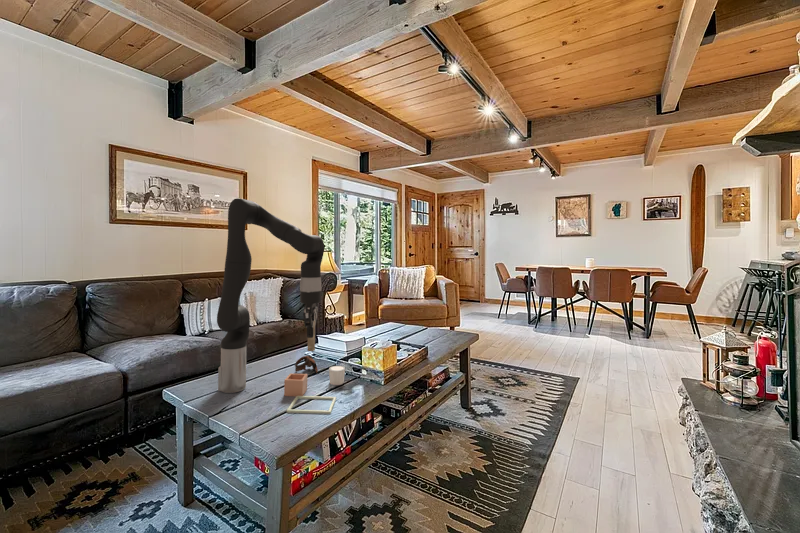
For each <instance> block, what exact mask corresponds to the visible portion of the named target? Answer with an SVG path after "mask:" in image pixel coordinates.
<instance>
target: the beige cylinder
mask: <svg viewBox="0 0 800 533" xmlns="http://www.w3.org/2000/svg"><path fill="white" fill-rule="evenodd" d="M345 372H346V367H345V366H343V365H332V366H330V367H329V368H328V375H329V376H328V378H329V384H330V385H332V386H341V385H343V384H344V382H345V374H346V373H345Z"/></svg>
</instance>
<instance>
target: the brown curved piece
mask: <svg viewBox="0 0 800 533" xmlns="http://www.w3.org/2000/svg"><path fill="white" fill-rule="evenodd" d="M302 362H303V363H302ZM300 363H301V364H300ZM294 367H295V370H294V371H295V372H296V373H297V372H300V371H306V370H307V368H311V367H312V370H314V371H315V373H316V374H317V373H318V366H317V363H316V360H315V359H313V357H312V356H311V355H304V356H302V357H299V359H297V360H296V361H295V364H294ZM306 367H307V368H306Z"/></svg>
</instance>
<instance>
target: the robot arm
mask: <svg viewBox="0 0 800 533" xmlns="http://www.w3.org/2000/svg"><path fill="white" fill-rule="evenodd" d="M246 225H255V226H258V227H261V228H264V229H265V230H267V231H268V232H269V233H270V234H272V236H274V238H276V239H279V240H280V241H282V242H284V243H286V244H288V245H289V246H290V247H292V248H293V249H294V250H296V251H297V252H298V253H300V254H303V255H306V258H305V260H304V261H302V262H301V264H300V284H299V285H300V286H299V288H300V290H299V292H300V294H299V295H300V296H299V297H300V299H299V300H300V303H301V304H305V307H304V311H303V314H302V315H303V322H304V327H305V328H306V337H307V339H308V338H312V337H313V327H314V321H315V326H316V325H317V322H318V314H319V313H318V312H319V307H318V306H317V304H320V303H321V302H322V278H321V275H322V274H321V273H322V272H321V271H322V270H321V269H322V268H321V266H322V262H323V257H324V253H325V243H324V240H323V238H322V237H321V236H319V235H316V234H307V233H305V232H303V231H302V229H300V228H299V227H298V226H296V225H294V224H293V223H290V222H288V221H286V220H284V219H281V218H279V217H277V216H275V215H274V214H272V212H269V211H268V210H267V209H265V208H264V207H263V206H262V205H260V204H259V203H257V202H255V201H253V200H248V199H245V198H239V197H237V198H234V199H232V201H231V202H230V204H229V206H228V211H227V244H226V255H225V262H224V270H223V271H224V273H223V282H222V288H221V289H222V291H221V296H220V300H219V305H218V309H217V314H216V322H217V326H218V329H219V330H221V331H222V332H224V333H226V334H225V336H223V338H222V339H221V341H220V366H219V367H218V370H217V372H218V373H217V374H218V377H217V378H218V379H217V391H218V392H221V393H225V394H232V393H233V394H234V393H238V392H242V391H243V390H245V389H246V388H247V341H248V339H249V337H250V325H251V324H250V322H251V316H250V311H249V310H248V309H247V307H246V306H244V305H241V304H239V303H240V298H241V295H242V292H243V290H244V288H245V286H246V284H247V282H248V280H249V278H250V275H251V271H252V262H253V261H252V259H253V258H252V254H251V251H250V249H249V246H248V244H247V240H246ZM312 318H313V319H312ZM308 322H310V323H308Z"/></svg>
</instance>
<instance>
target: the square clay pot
mask: <svg viewBox="0 0 800 533" xmlns="http://www.w3.org/2000/svg"><path fill="white" fill-rule="evenodd" d="M308 376H309V374H308V373H292V372H291V373H289V374H288V375H287V376H286V378H284V384H283V385H284V386H283V387H284V389H283V390H284V391H283V392H284V393H283V395H284V397H296V396H305V394H306V392H307V390H308Z"/></svg>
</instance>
